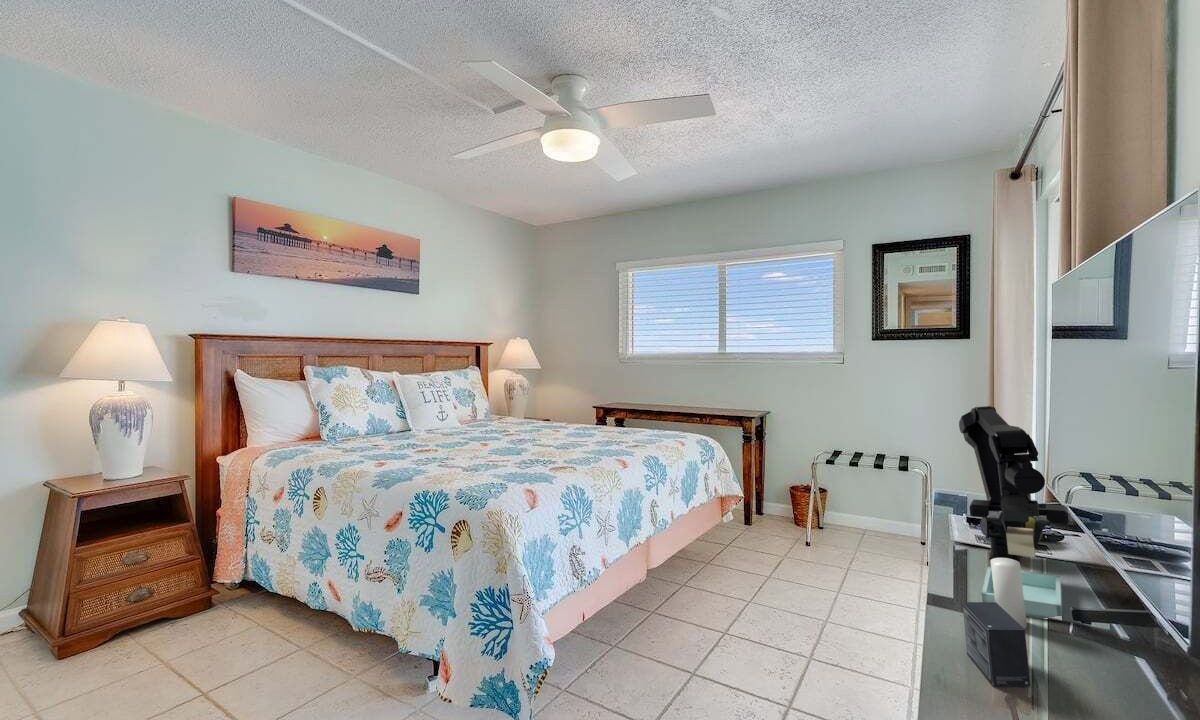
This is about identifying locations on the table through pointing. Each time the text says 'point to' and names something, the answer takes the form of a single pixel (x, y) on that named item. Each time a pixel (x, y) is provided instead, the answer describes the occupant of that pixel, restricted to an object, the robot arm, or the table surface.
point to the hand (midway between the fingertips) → (1021, 546)
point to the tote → (1033, 593)
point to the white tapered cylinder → (1009, 588)
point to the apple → (1032, 525)
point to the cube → (1020, 541)
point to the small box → (996, 644)
